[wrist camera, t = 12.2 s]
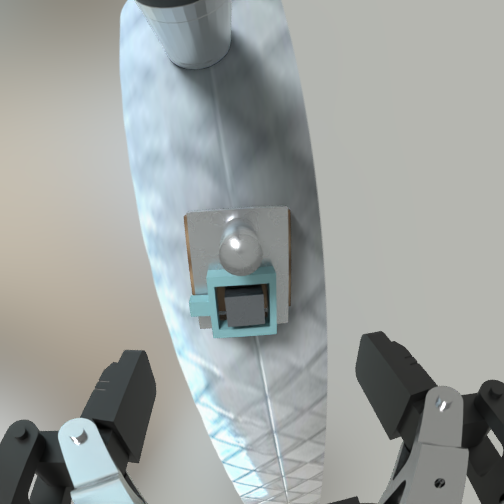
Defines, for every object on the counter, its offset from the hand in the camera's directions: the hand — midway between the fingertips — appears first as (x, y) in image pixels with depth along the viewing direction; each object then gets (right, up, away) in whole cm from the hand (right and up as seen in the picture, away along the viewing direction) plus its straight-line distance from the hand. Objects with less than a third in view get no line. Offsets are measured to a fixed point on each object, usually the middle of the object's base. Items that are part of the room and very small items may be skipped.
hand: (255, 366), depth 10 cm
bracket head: (-3, -2, +27) cm, 27 cm away
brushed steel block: (-1, -1, +30) cm, 30 cm away
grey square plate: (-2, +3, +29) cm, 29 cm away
